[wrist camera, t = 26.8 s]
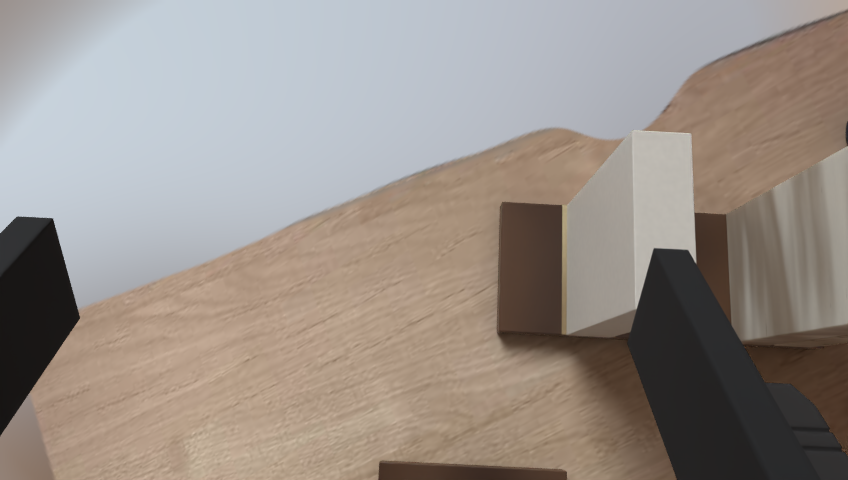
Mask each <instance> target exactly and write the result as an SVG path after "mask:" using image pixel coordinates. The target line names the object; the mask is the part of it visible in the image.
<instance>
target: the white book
mask: <svg viewBox="0 0 848 480" xmlns="http://www.w3.org/2000/svg"><path fill="white" fill-rule="evenodd" d="M654 248H663V249H683V250H688V251H689V252H690V254H691V256H692V257H693V259H694V261H695V263H696V241H695V215H694V190H693V164H692V139H691V134H689V133H672V132H655V131H638V130H632V131H631V132H630V134H629V135H628V136H627V137H626V138H625V139H624V140H623V142H622V143H621V144H620V145H619V146H618V147H617V148H616V150H615V151H614V152H613V153H612V154H611V155H610V157H609V158H608V159H607V160H606V161H605V162H604V164H603V165H602V166H601V167H600V168H599V169H598V170H597V172H596V173H595V174H594V175H593V176H592V177H591V179H590V180H589V181H588V182H587V183H586V184H585V186H584V187H583V188H582V189H581V190H580V191H579V192H578V194H577V195H576V196H575V197H574V198H573V199H572V201H571V202H570V203H569V204H568V205H567V335H570V336H589V337H608V338H611V337H614V336H618V335H621V334H625V333H629V332H630V331H631V328H632V324H633V321H634V317H635V314H636V310H637V306H638V303H639V299H640V296H641V292H642V288H643V285H644V281H645V278H646V274H647V270H648V267H649V263H650V260H651V256H652V252H653V249H654Z"/></svg>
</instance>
